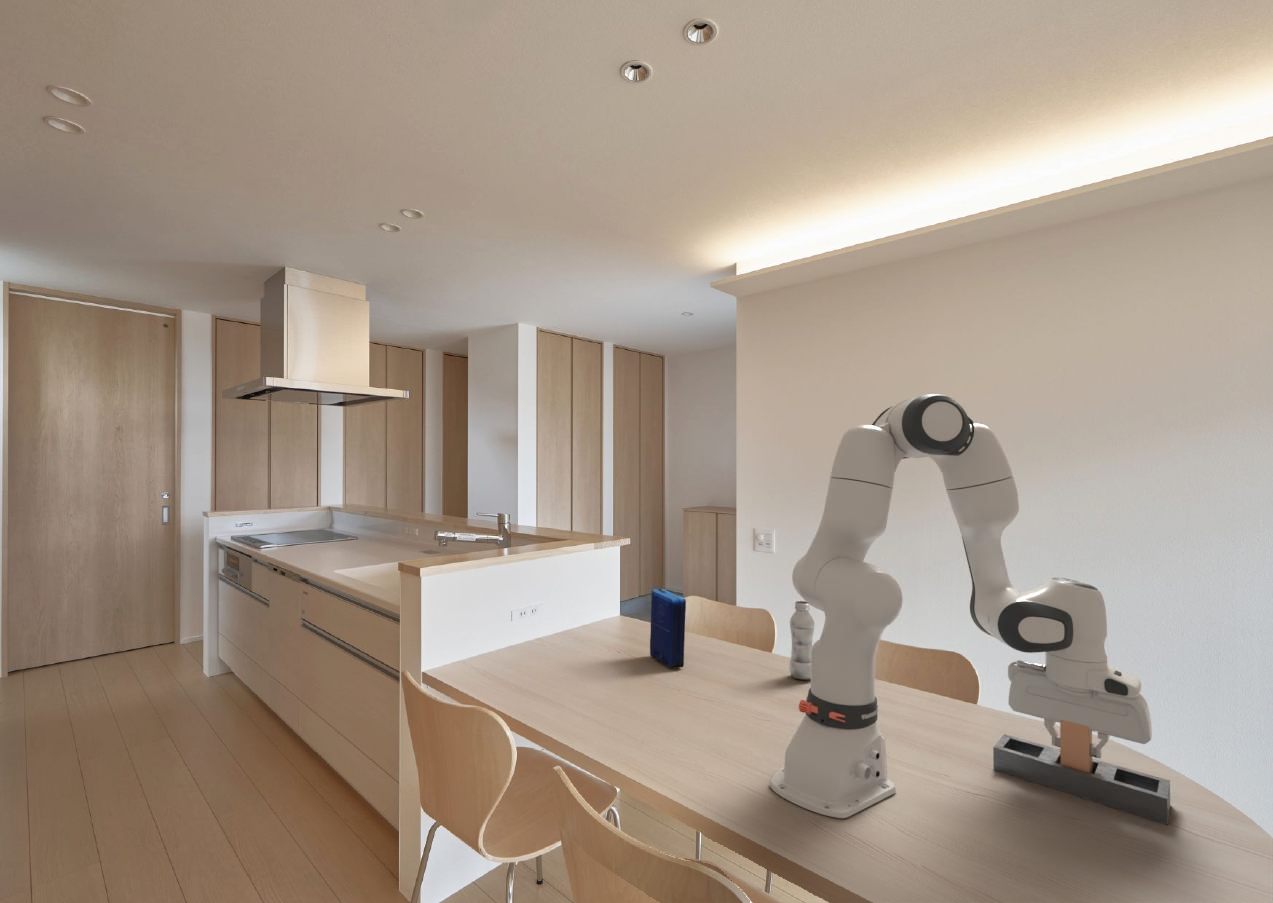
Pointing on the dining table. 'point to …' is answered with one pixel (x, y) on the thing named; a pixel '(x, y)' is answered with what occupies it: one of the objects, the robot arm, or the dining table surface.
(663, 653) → the blue upright rectangular block
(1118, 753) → the dining table surface
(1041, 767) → the rail
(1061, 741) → the peg
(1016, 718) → the dining table surface
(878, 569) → the robot arm
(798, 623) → the plastic bottle
